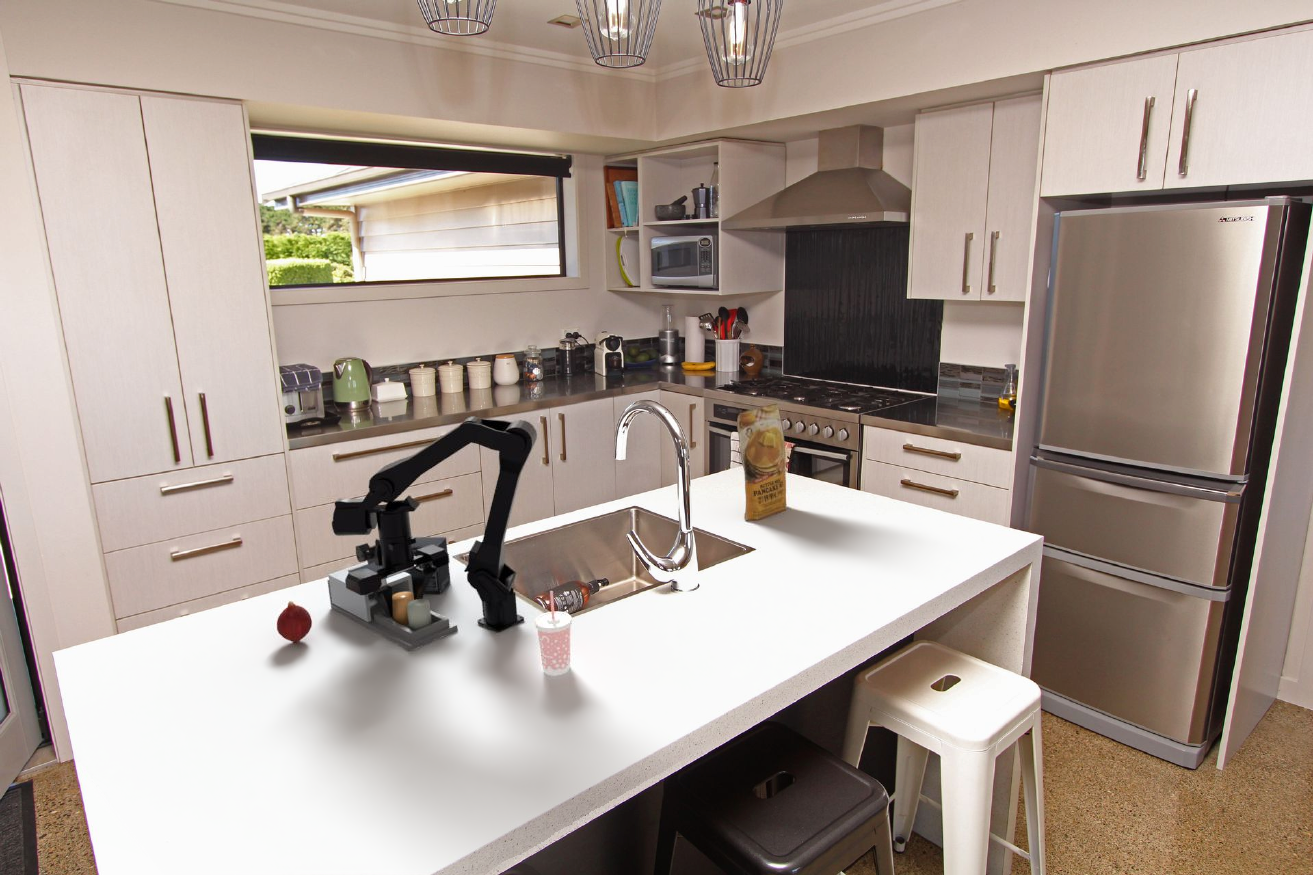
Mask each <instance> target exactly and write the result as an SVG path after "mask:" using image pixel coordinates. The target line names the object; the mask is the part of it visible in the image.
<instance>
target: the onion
mask: <svg viewBox="0 0 1313 875" xmlns="http://www.w3.org/2000/svg"><path fill="white" fill-rule="evenodd" d="M312 625H313V621H312V616H311V614H310V612H309V611H308V610H307V609H306V608H305V607H303V606H301V605H298V604H295V603H294V601H292V600H289V601H288V603H287V606H286V608H284V609H283V610H282V611H281V613H280V614H279V615H278V618H277V621H276V630H277V633H278V634H279V635H280V636H281V637H282V638H283V639H285V640H287V641H290V642H293V643H298V642H300V641H301V640H302V639H305V637H306V636H307V635H308V634H309V633H310V630H311V628H312V627H313V626H312Z"/></svg>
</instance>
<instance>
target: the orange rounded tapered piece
mask: <svg viewBox="0 0 1313 875" xmlns="http://www.w3.org/2000/svg"><path fill="white" fill-rule="evenodd" d="M413 600H414V595H413V593H412V592H399V593H396V594H394V595H393V596H392V601H393V617H394V621H395V622H397V623H399V624H401V625H407V624H409V620H408V611H407V604H408V603H409V602H411V601H413Z"/></svg>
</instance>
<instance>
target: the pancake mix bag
mask: <svg viewBox="0 0 1313 875" xmlns="http://www.w3.org/2000/svg"><path fill="white" fill-rule="evenodd" d="M780 412H781V411H780V407H779V405H777V403H772V404H769V405H765V406H760V407H756V408H753V409H748V410H746V411H743V412H740V413H739V414H738V416H737V422H736V428H737V434H738V440H739V452H740V455H739V456H740V461H741V464H742V467H743V468H742V469H743V471H744V473H743V475H744V490H745V491H744V492H745V512H744V518H743V519H744V521H758V520H762V519H764V518H768V517H771V516H773V515H777V514H779V513H781V512H784V511H785V510H787V477H786V475H787V474H786V470H787V468H786V466H787V464H786V462H787V461H786V446H785V445H786V444H785V435H784V430H783V423H782V417H781V413H780Z"/></svg>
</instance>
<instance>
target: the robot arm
mask: <svg viewBox="0 0 1313 875" xmlns="http://www.w3.org/2000/svg"><path fill="white" fill-rule="evenodd" d="M537 432H538V431H537V430H536V428H535V426H534V425H533V424H531V422H529V421H527V420H521V419H518V420H514V421H508V420H503V419H502V420H501V419H487V418H481V417H478V416H469V417H467V418H466V419H465V420H464V421H463V422H462V423H460V424H459V425H457V426H455V427H454V428H453V429H451V430H450V431H448V432H446V433H445V434H443V435H442V436H441V437H438V439H436V440H434V441H433V442H431V443H430V444H428V445H427V446H425V447H423V448H422V449H421V450H419V451H417V452H416V453H414V454H411V455H409V456H407V457H403V458H400V459H397V460H395V461H393V462H390V463H389V464H386V465H384V466H383V467H382V468H381V469H380V470H378V471H376V473H374V474H373V475H372V476H371V478H370V479H369V481H368V492H367V494H366V496H364V498H346V497H344V498H342V497H341V498H340V497H339V498H338V499H337V500H336V501H334V510H333V513H332V514H333V515H332V521H331V528H332V531H333V534H334V535H335V536H337V537H342V536H347V537H348V536H369V535H370V534H371V533H372V530H375V529H376V527H377V532H378V534H377V535H378V537H376V538H375V541H374V543H375V544H373V545H371V546H370V545H369V543H367V542H366V543H363V544H359V545H356V546H355V556H356V559H357V561H358V562H359V563H364V562H368V564H371V563H373V562H375V565H377V566H382V567H383V569H380V570H377V571H371V570H369V569H367V568H363V569H360V570H357V571H354V572H351V573H349V574H348V575H347V577H346V579H345V583H346V588H347V589H349V590H351V591H353V592H355V593H357V594H359V595H367V594H370V593H372V592H373V593H374V594H375V595H376V597H377V598H378V600H379V601H380V603H381V605H382V607H383V609H384V610H385V612H386V614H387V616H389V617H392V614H393V601H392V587H391V586H389V585H387V581H386V579H387V578H389V577H391V576H394V575H397V574H400V573H402V572H405V571H408V570H409V572H410V574H411V576H412V584H413V596H414V600H416V599H424V596H425V594H424V593H425V591H426V588H427V586H428V584H429V582H430V580H431V578H432V576H433V574H434V573H436V572H437V569H436V568H433V566H435V567H437V568H439V567H441V566H444V565H447V564H449V565H450V555H449V552H448V550H447V551H446V550H445V549H442V548H440V547H437V546H434V545H429V546H426V547H423V548H420V549H417V550H416V552H415V556H414V554H413V545H412V544H414V543H416V538H415V536H412V528H411V520H410V512H415V511H417V509H418V508H419V507H420V504H421V503H420V502H419V501H417V499H414V498H413V497H412V496H411V495H408V496H406V497H405V499H398V498H399V497H400V496H401V495H402V494H403V493H404V492H405V491H406V490H407V489H408V488H409V487H410V486H411V485H412V484H413V483H414V482H416V481H417V480H418V479H419V478H420V477H421V476H422V475H424V474H425V473H427V472H428V471H429V470H431V469H433V468H435V467H436V466H437V465H439V464H440V463H442V462H444V461H445V460H447V459H449V458H450V457H451V456H453V455H454V454H456V453H458V452H459V451H461V450H462V449H463V448H465V447H466V446H469V445H470V444H477V445H479V446H482V447H484V448H486V449H489V450H492V451H496V452H498V463H499V464H498V465H499V466H498V467H499V470H498V472H499V473H498V476H497V481H496V483H495V484H496V485H495V489H494V493H493V497H492V502H491V505H490V509H489V514H488V517H487V522H486V526H485V530H484V533H483V534H484V535H483V538H482V541H479V540H477V539H476V540H475V541H474V543H473V545H472V546H471V548H470V550H469V553H468V561H467V565H466V566H465V568H464V571H463V572H464V573H467V574H466V580H467V582H468V584H469V585H470V587H472V588H473V590H475V591H476V592H477V595H478V597H479V599H480V601H481V607H482V615H483V617H481V618H479V619H477V624H479V625H481V626H483V627H485V628H487V629H489V630H492V631H494V632H498V633H499V632H502V631H504V630H506V629H509V628H510V627H513V626H514V625H517V624H519V623H521V622H523V621H524V620H525V617H524V616H522V615H520V614H518V611H517V610H518V608H517V594H516V592H515V590H514V588H513V587H512V586H513V585H514V582H515V581H516V577H517V571H515V569H513V568H511V567H510V566H509V565H508V564H506V562H505V558H506V557H505V556H506V547H505V546H506V544H505V540H506V539H505V538H506V533H507V530H508V527H509V522H510V519H511V515H512V510H513V506H514V503H515V498H516V495H517V490H518V487H519V482H520V479H521V475H522V472H523V469H524V467H525V466H526V463H527V460H528V459H529V457H530V454H531V452H532V450H533V449H534V446H535V444H536V442H537V438H538V433H537ZM381 503H385V504H381Z"/></svg>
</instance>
